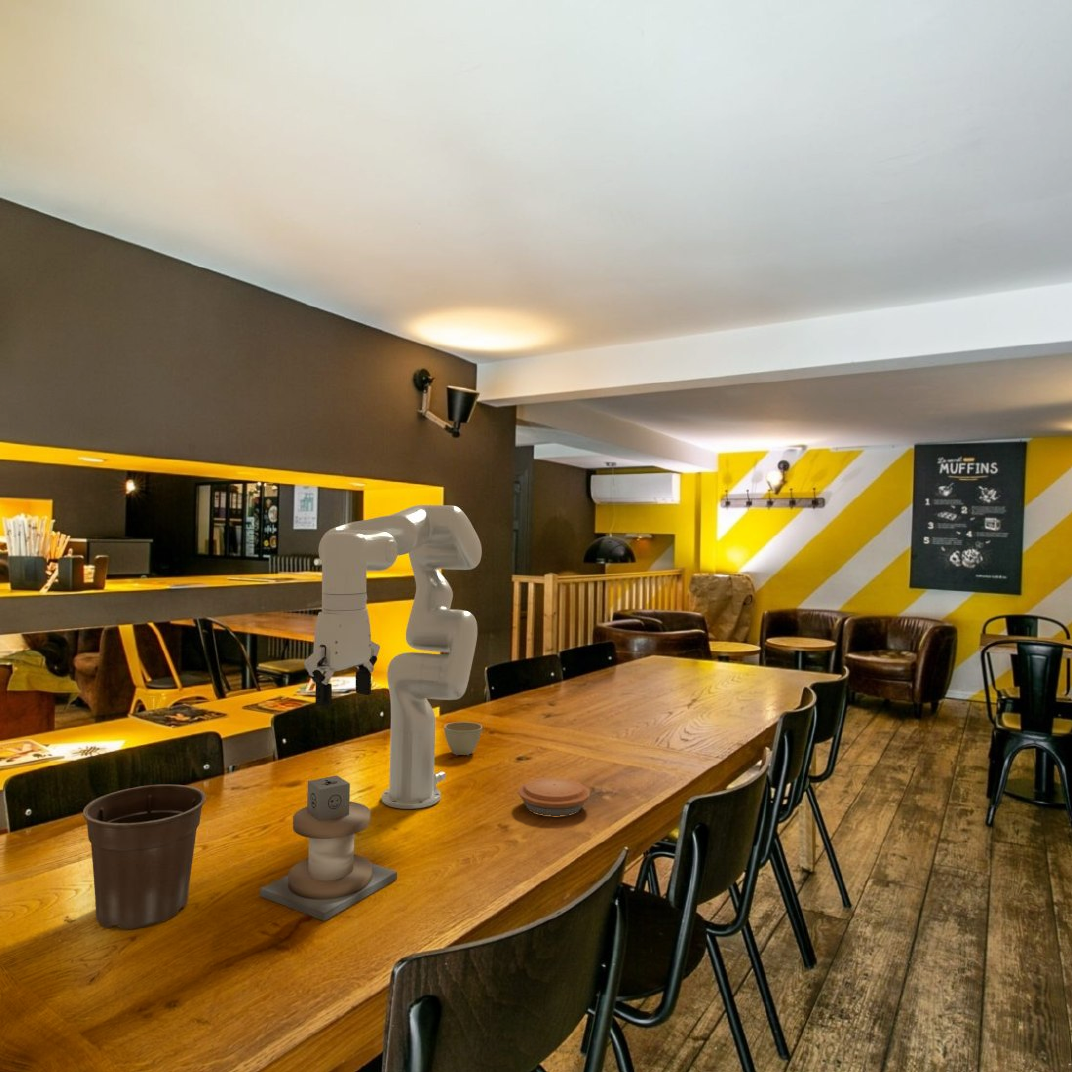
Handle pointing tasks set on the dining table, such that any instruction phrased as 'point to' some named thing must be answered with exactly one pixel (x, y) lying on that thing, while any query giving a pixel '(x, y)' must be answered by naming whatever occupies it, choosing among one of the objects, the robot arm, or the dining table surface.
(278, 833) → the dining table surface
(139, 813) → the plant pot
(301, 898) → the bobbin
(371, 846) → the dining table surface
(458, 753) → the flower pot
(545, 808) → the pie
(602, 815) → the dining table surface
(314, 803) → the dice cube
